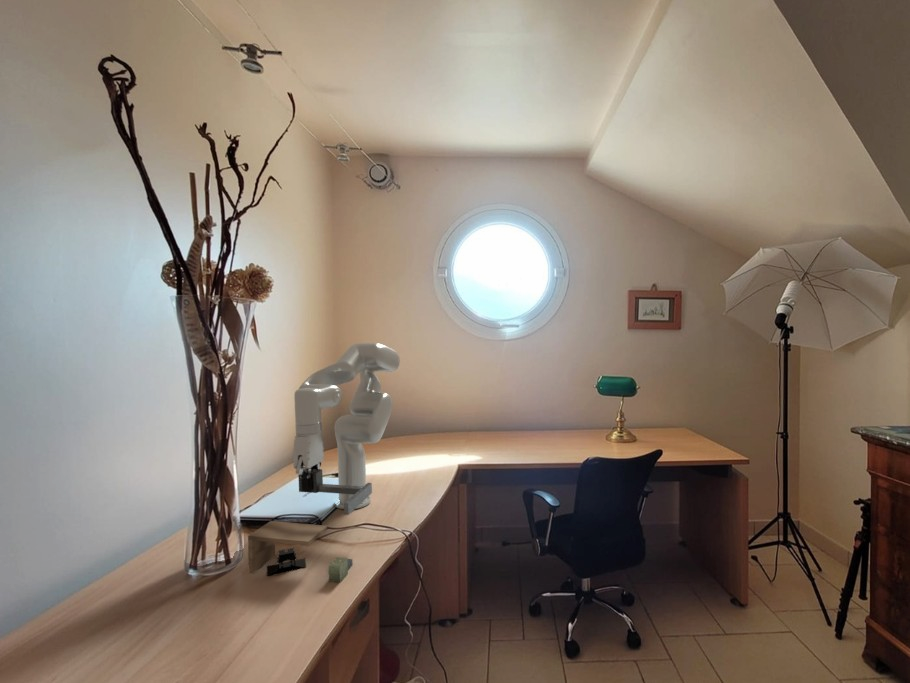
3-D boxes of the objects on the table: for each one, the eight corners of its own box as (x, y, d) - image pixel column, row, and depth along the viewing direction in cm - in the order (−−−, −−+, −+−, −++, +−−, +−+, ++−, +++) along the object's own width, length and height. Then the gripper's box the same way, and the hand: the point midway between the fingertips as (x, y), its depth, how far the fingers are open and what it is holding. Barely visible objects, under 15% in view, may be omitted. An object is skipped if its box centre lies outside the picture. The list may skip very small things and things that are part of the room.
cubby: (271, 555, 117) (270, 520, 117) (328, 561, 113) (327, 525, 113) (248, 573, 108) (248, 535, 108) (309, 580, 104) (308, 541, 104)
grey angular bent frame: (273, 508, 118) (272, 487, 117) (305, 487, 133) (304, 468, 133) (348, 514, 113) (347, 492, 112) (373, 491, 128) (372, 472, 128)
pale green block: (344, 564, 111) (344, 549, 111) (355, 565, 111) (354, 550, 111) (328, 581, 103) (328, 565, 103) (340, 583, 103) (339, 566, 103)
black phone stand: (310, 557, 116) (310, 540, 116) (313, 571, 110) (313, 553, 110) (260, 567, 111) (260, 549, 111) (260, 582, 105) (260, 563, 105)
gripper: (312, 422, 139) (314, 478, 139) (281, 435, 123) (283, 498, 123) (333, 422, 137) (335, 479, 138) (304, 435, 121) (306, 499, 122)
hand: (311, 487), depth 131 cm, fingers closed on grey angular bent frame, 3 cm apart
